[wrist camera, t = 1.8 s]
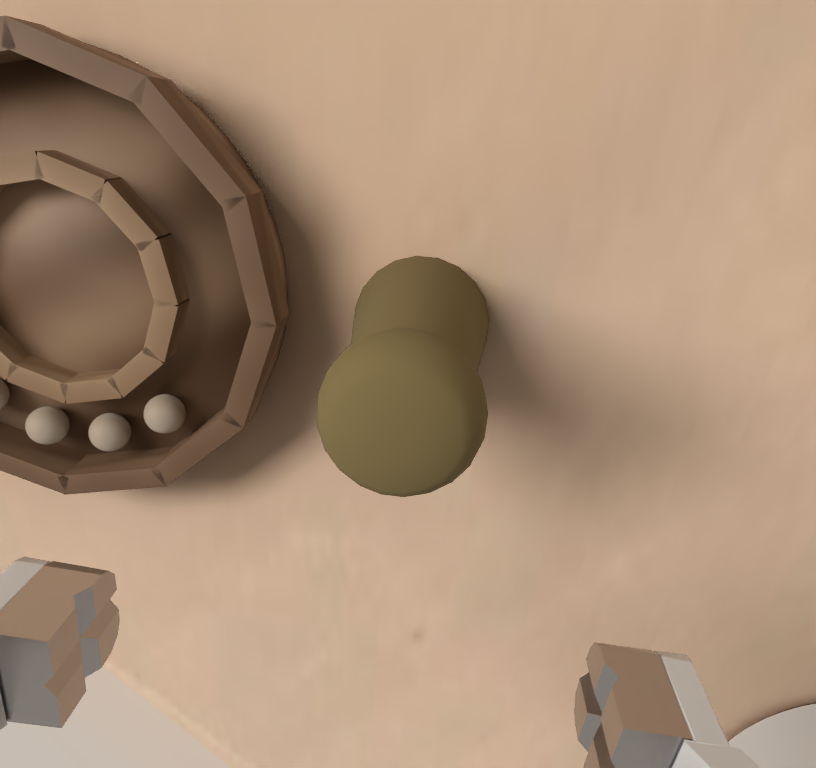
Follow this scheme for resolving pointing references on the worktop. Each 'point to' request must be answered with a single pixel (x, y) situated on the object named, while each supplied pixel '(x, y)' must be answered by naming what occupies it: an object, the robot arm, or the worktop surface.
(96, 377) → the tray
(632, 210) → the worktop surface
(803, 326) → the worktop surface
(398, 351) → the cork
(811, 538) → the worktop surface
